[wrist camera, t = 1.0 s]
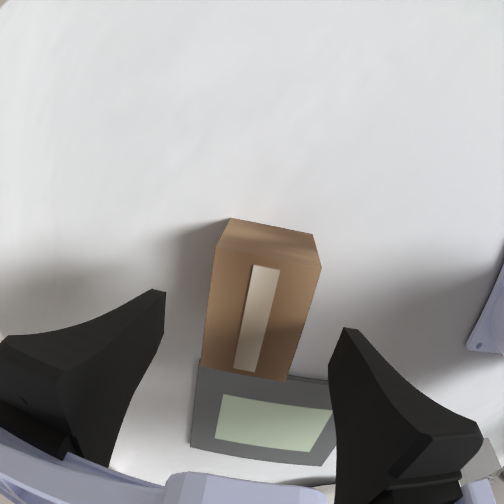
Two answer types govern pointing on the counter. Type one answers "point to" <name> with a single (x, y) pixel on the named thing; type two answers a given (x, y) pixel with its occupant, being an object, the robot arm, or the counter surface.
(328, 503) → the flower in vase
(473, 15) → the counter surface
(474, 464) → the lighter
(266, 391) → the mat
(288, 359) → the cardboard box
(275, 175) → the counter surface
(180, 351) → the counter surface
